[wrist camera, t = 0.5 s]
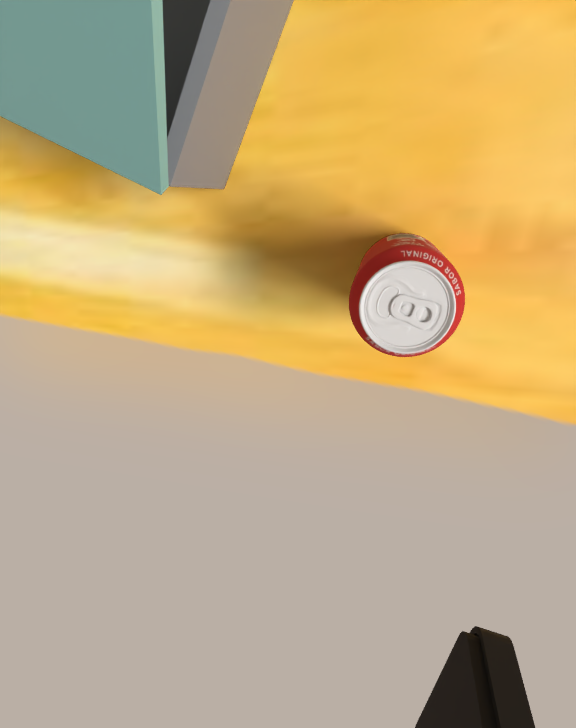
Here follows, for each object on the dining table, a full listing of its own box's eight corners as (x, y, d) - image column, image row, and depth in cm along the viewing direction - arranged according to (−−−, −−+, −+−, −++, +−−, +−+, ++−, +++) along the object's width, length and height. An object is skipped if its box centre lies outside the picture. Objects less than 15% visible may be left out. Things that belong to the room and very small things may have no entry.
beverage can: (347, 300, 38) (331, 342, 27) (375, 220, 36) (370, 231, 25) (424, 327, 38) (440, 381, 27) (458, 248, 36) (490, 271, 25)
